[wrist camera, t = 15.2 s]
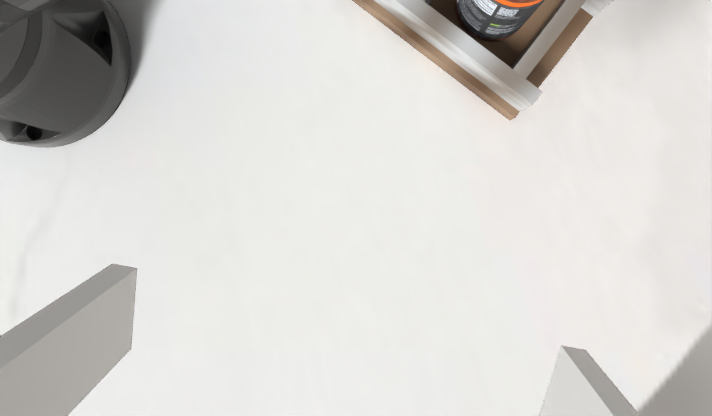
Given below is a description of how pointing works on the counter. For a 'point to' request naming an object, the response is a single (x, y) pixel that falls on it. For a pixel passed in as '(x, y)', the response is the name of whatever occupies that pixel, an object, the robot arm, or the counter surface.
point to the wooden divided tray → (489, 45)
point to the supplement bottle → (494, 17)
